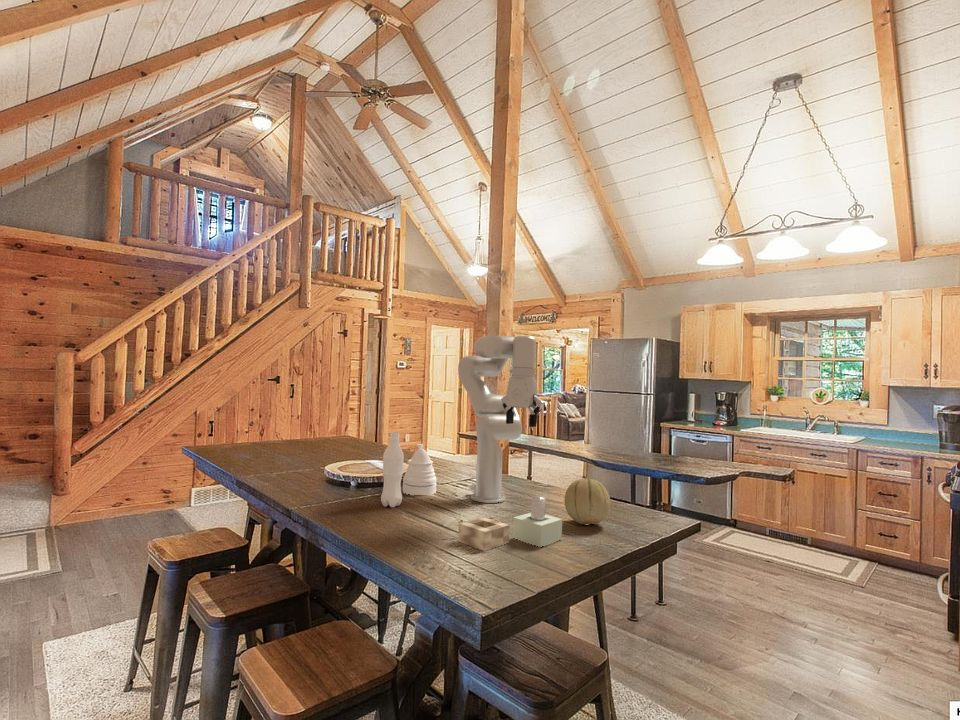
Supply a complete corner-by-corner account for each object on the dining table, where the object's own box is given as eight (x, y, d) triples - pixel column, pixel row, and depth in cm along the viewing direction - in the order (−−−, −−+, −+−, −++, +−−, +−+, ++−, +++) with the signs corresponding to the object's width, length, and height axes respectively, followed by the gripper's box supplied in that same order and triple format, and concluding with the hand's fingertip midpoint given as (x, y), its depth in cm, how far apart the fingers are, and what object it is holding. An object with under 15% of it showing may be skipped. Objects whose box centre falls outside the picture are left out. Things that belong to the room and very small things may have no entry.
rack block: (512, 538, 147) (513, 517, 147) (533, 531, 154) (534, 511, 155) (540, 547, 140) (541, 525, 140) (561, 540, 148) (562, 519, 148)
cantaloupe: (586, 533, 155) (588, 483, 155) (553, 520, 167) (555, 474, 167) (619, 527, 163) (621, 480, 163) (586, 515, 175) (588, 471, 176)
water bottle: (377, 507, 174) (380, 432, 174) (385, 502, 181) (389, 430, 181) (396, 509, 172) (400, 434, 173) (404, 504, 179) (408, 432, 180)
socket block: (458, 541, 142) (458, 523, 143) (482, 534, 150) (483, 516, 150) (484, 551, 136) (485, 532, 136) (508, 543, 143) (509, 525, 143)
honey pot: (398, 488, 202) (400, 442, 202) (429, 487, 207) (431, 442, 208) (408, 496, 190) (410, 447, 190) (440, 494, 195) (443, 447, 196)
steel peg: (527, 539, 147) (528, 496, 148) (535, 536, 150) (537, 494, 151) (538, 542, 145) (540, 499, 145) (546, 539, 148) (548, 497, 148)
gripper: (496, 372, 174) (493, 422, 173) (537, 374, 162) (535, 428, 161) (510, 372, 179) (508, 422, 179) (551, 374, 167) (549, 427, 167)
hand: (520, 425), depth 170 cm, fingers open, 9 cm apart
